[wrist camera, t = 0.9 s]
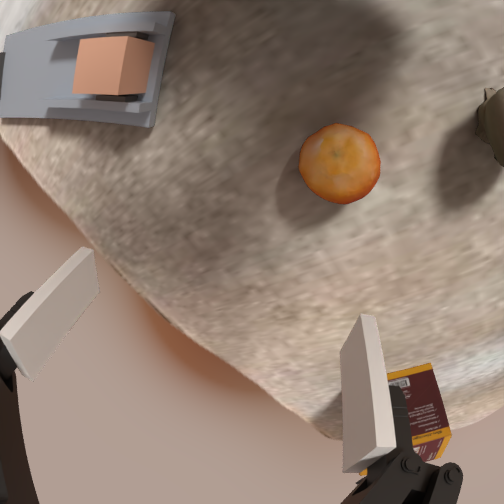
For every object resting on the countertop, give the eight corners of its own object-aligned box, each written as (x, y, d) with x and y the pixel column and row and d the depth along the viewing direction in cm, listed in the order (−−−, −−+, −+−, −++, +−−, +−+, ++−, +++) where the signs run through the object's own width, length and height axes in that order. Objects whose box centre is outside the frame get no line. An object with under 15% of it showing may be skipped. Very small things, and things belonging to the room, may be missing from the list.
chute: (12, 35, 26) (-8, 36, 22) (175, 14, 25) (159, 5, 21) (3, 115, 33) (-16, 121, 29) (154, 125, 32) (136, 131, 28)
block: (111, 43, 26) (80, 39, 21) (155, 43, 26) (128, 36, 21) (103, 90, 29) (72, 93, 24) (145, 92, 29) (117, 95, 24)
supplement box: (426, 392, 49) (441, 458, 35) (354, 408, 53) (358, 476, 39) (432, 361, 44) (453, 434, 31) (350, 380, 48) (355, 458, 35)
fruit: (322, 220, 34) (311, 210, 26) (299, 158, 35) (282, 133, 27) (388, 196, 31) (396, 179, 24) (361, 134, 32) (360, 104, 25)
